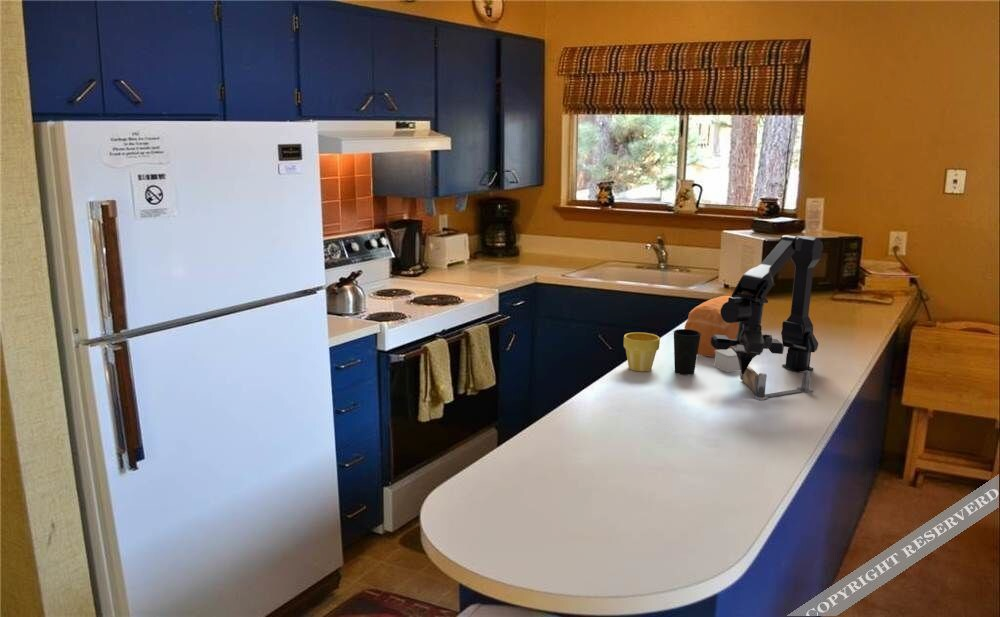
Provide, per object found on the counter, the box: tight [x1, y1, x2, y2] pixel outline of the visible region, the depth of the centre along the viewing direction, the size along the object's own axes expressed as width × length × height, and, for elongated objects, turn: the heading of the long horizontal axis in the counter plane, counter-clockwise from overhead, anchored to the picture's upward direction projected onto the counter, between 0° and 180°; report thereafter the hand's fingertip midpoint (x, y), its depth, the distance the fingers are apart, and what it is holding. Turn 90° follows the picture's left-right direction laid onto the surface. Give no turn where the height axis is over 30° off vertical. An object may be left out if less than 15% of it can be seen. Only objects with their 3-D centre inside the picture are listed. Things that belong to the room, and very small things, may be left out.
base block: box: [714, 348, 741, 373], centre depth 243 cm, size 6×6×5 cm
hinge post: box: [752, 372, 769, 401], centre depth 217 cm, size 4×4×6 cm
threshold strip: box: [765, 388, 803, 399], centre depth 221 cm, size 12×2×1 cm, turn 115°
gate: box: [739, 365, 759, 395], centre depth 225 cm, size 13×2×5 cm, turn 2°
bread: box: [684, 295, 743, 358], centre depth 264 cm, size 14×26×16 cm, turn 144°
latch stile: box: [796, 370, 814, 393], centre depth 224 cm, size 3×3×6 cm
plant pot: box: [623, 332, 661, 373], centre depth 240 cm, size 10×10×10 cm
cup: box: [673, 328, 701, 376], centre depth 237 cm, size 8×8×12 cm
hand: (742, 373), depth 227 cm, fingers closed
